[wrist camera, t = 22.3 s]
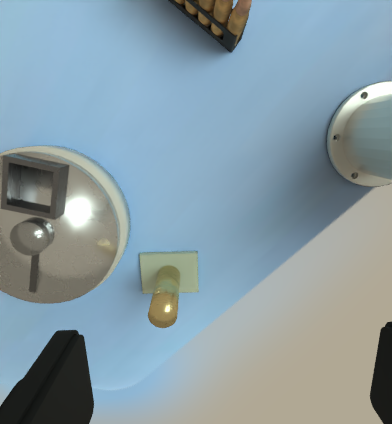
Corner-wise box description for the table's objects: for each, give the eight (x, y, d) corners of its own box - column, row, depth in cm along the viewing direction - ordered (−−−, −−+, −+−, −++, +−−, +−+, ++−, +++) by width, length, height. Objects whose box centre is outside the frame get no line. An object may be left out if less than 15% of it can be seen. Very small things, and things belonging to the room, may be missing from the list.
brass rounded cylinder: (155, 267, 40) (145, 305, 32) (178, 263, 40) (174, 301, 32) (160, 287, 41) (151, 329, 33) (182, 284, 41) (179, 325, 33)
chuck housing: (123, 143, 37) (116, 144, 33) (136, 284, 42) (131, 297, 39) (-34, 147, 37) (-57, 149, 34) (-2, 288, 42) (-18, 301, 39)
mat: (197, 251, 41) (197, 253, 40) (198, 289, 42) (198, 292, 42) (140, 252, 41) (139, 254, 40) (143, 290, 42) (142, 293, 42)
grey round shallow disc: (-34, 134, 33) (-64, 134, 29) (131, 170, 34) (123, 175, 30) (-36, 281, 38) (-62, 298, 34) (109, 309, 39) (99, 327, 35)
